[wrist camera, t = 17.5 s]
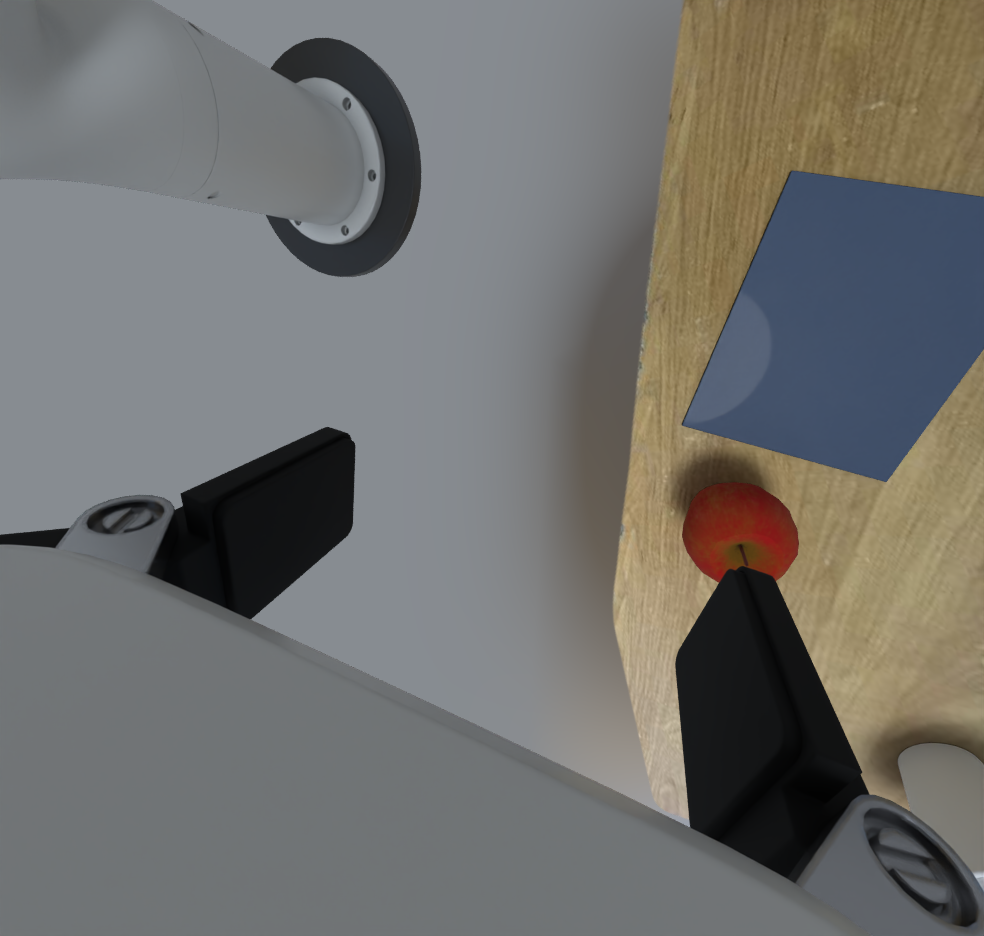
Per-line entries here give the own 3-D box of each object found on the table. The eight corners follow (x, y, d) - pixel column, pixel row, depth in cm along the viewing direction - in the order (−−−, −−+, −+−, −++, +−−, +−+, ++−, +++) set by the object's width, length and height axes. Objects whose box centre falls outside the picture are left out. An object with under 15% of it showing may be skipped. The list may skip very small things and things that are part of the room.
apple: (670, 466, 41) (677, 520, 31) (771, 451, 37) (813, 506, 28) (684, 540, 43) (694, 610, 34) (779, 532, 40) (820, 608, 30)
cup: (1031, 737, 39) (1176, 906, 28) (1005, 815, 43) (1124, 990, 32) (873, 716, 44) (947, 856, 33) (863, 789, 48) (926, 935, 37)
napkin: (681, 424, 39) (682, 425, 38) (790, 171, 30) (792, 170, 29) (884, 480, 35) (886, 482, 35) (1080, 211, 26) (1085, 210, 26)
